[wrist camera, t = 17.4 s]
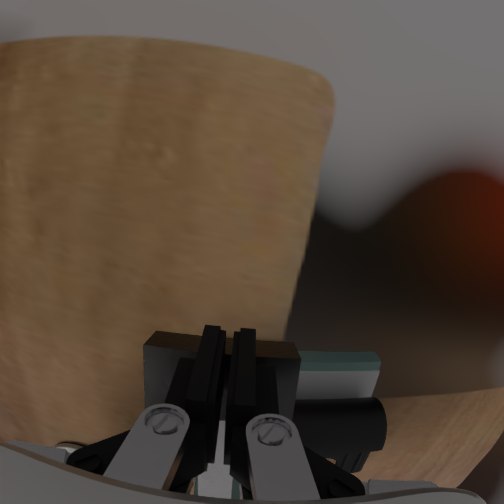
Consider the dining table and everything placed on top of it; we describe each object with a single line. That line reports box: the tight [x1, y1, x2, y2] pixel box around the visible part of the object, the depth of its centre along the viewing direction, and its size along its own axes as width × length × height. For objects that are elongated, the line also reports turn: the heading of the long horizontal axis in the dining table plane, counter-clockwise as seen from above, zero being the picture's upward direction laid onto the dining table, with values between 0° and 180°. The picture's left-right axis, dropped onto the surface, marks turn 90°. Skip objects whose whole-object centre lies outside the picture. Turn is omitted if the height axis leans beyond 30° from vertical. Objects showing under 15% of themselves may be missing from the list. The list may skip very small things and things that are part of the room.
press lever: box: [143, 331, 301, 499], centre depth 13 cm, size 16×6×3 cm, turn 175°
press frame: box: [194, 350, 381, 499], centre depth 23 cm, size 11×17×16 cm, turn 85°
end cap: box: [292, 397, 387, 473], centre depth 25 cm, size 10×7×7 cm
